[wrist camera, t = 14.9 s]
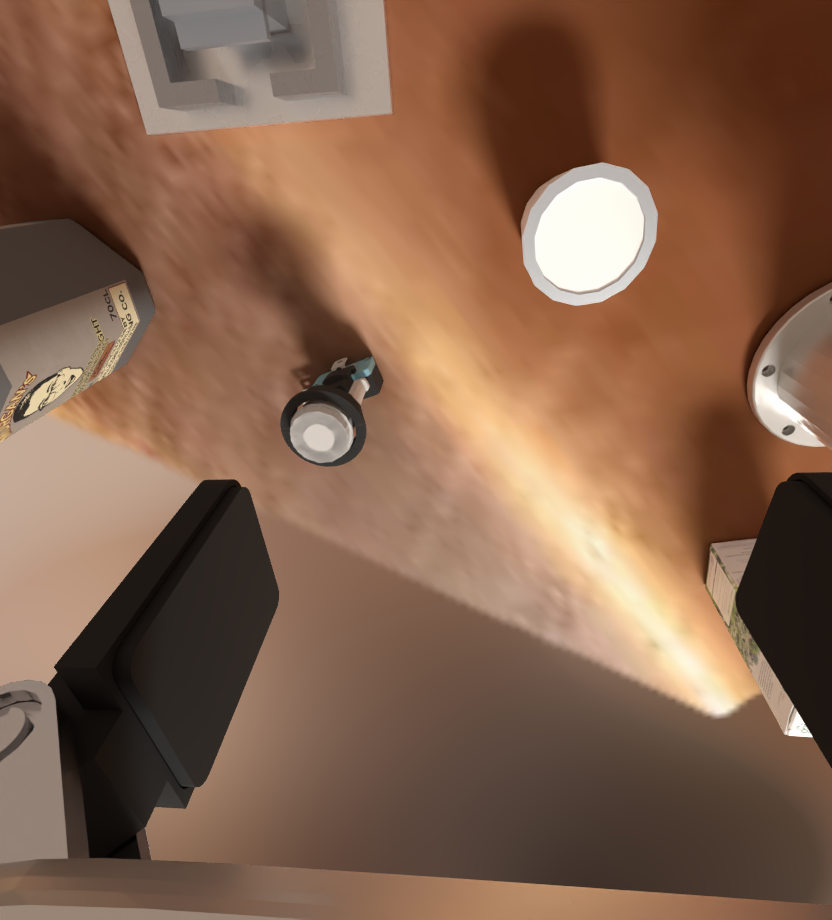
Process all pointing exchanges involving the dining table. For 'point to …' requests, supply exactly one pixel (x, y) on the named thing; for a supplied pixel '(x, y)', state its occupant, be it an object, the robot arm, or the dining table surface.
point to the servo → (225, 21)
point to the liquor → (62, 316)
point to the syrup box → (722, 589)
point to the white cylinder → (588, 233)
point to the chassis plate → (260, 69)
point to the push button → (331, 414)
